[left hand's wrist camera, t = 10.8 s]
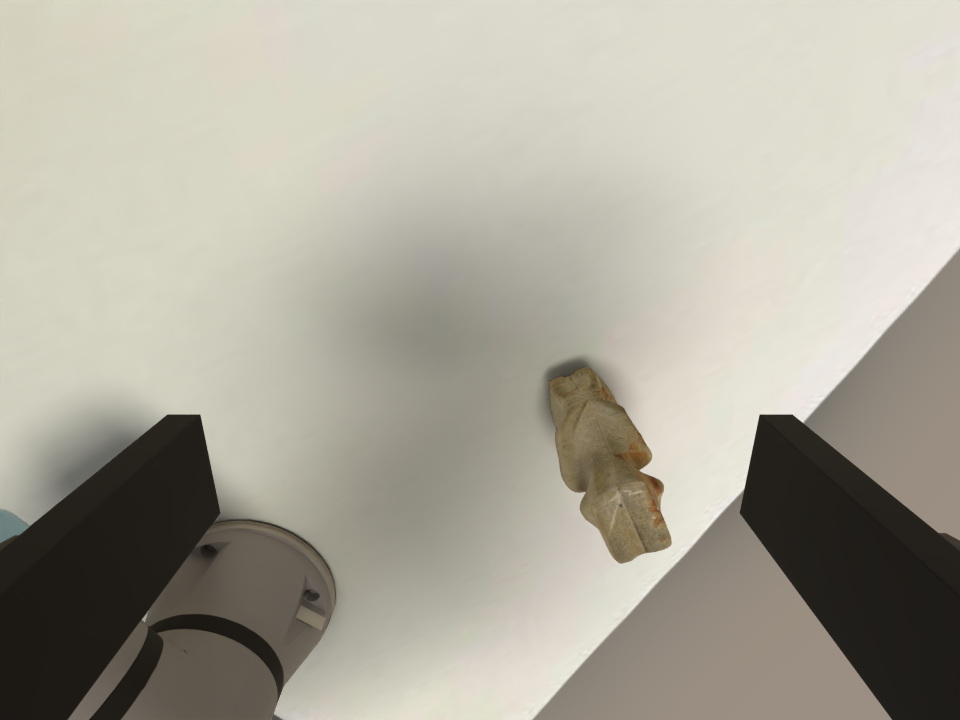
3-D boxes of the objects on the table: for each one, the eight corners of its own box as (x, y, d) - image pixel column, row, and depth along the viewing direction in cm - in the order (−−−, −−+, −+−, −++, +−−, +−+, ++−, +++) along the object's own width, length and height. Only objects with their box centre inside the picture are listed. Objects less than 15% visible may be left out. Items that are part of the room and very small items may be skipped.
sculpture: (557, 449, 44) (594, 584, 30) (531, 373, 42) (557, 480, 28) (626, 428, 43) (696, 556, 29) (603, 349, 41) (667, 447, 27)
